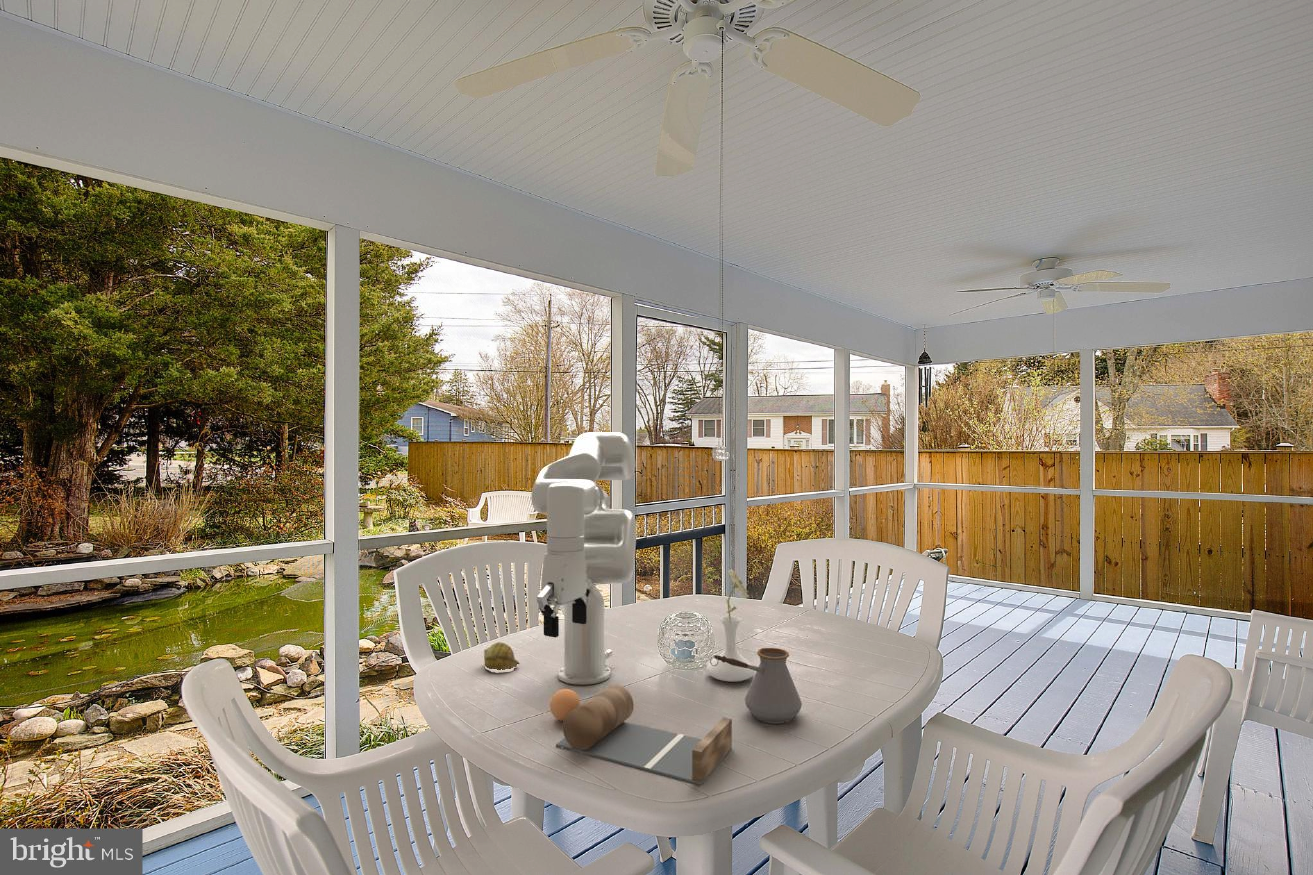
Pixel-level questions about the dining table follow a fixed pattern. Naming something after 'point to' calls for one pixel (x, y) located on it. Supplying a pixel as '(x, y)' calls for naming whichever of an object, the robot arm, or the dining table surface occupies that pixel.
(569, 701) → the ball
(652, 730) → the throwing mat
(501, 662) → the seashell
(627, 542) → the robot arm
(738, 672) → the flower in vase
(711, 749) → the backstop board
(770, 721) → the coffee pot
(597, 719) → the brown cylinder
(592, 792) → the dining table surface
